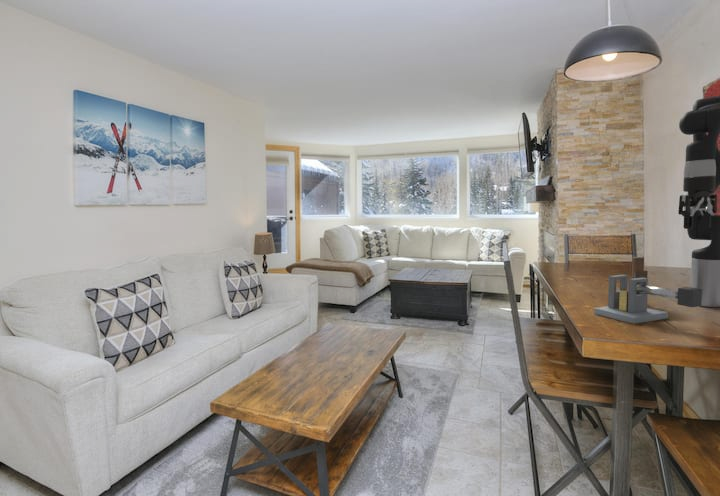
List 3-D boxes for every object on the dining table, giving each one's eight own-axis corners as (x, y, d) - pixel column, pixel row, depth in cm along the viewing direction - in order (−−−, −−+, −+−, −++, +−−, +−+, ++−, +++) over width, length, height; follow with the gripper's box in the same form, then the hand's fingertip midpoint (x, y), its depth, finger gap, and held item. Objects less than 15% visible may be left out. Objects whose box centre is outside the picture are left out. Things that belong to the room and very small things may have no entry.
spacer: (633, 308, 137) (634, 288, 136) (640, 309, 134) (641, 289, 134) (619, 310, 134) (619, 290, 134) (626, 312, 132) (626, 291, 131)
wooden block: (634, 308, 144) (635, 259, 142) (629, 302, 153) (631, 256, 152) (646, 309, 142) (648, 260, 141) (641, 303, 152) (643, 256, 150)
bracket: (626, 308, 144) (627, 273, 143) (667, 318, 131) (669, 278, 129) (594, 313, 138) (594, 276, 137) (633, 323, 125) (634, 282, 124)
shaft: (642, 295, 132) (643, 280, 131) (701, 305, 116) (702, 289, 115) (634, 296, 131) (634, 281, 130) (692, 307, 115) (693, 290, 114)
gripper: (700, 176, 128) (698, 226, 130) (670, 177, 123) (668, 228, 125) (728, 174, 121) (725, 227, 123) (698, 174, 116) (695, 229, 118)
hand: (697, 228), depth 124 cm, fingers open, 8 cm apart
